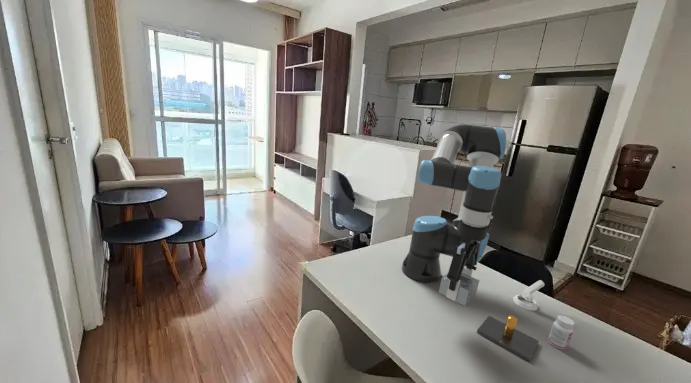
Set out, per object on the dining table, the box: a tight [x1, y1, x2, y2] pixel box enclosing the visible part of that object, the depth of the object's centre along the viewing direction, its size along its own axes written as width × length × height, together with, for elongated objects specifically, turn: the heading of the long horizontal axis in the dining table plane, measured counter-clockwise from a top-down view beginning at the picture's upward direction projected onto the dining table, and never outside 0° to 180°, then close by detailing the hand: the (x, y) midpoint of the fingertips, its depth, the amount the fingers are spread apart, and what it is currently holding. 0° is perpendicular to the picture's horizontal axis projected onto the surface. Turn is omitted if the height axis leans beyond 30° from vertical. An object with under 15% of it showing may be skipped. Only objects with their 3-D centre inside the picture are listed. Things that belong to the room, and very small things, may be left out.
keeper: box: [476, 314, 540, 363], centre depth 86 cm, size 14×10×7 cm
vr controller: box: [512, 279, 545, 312], centre depth 104 cm, size 8×12×7 cm
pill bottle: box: [547, 314, 575, 351], centre depth 85 cm, size 5×5×8 cm
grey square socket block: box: [438, 272, 480, 307], centre depth 87 cm, size 8×8×5 cm
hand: (457, 292), depth 88 cm, fingers closed on grey square socket block, 8 cm apart
